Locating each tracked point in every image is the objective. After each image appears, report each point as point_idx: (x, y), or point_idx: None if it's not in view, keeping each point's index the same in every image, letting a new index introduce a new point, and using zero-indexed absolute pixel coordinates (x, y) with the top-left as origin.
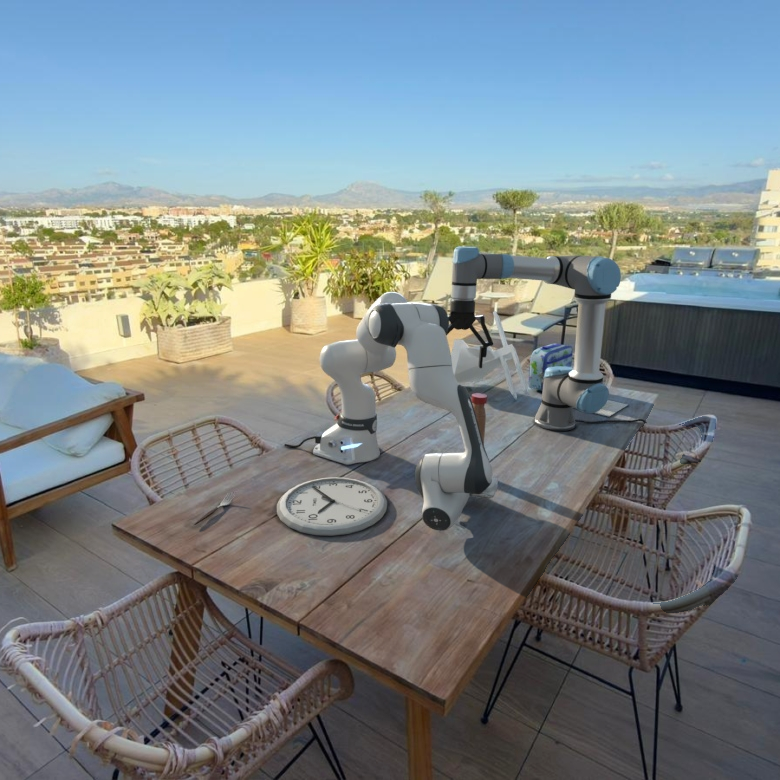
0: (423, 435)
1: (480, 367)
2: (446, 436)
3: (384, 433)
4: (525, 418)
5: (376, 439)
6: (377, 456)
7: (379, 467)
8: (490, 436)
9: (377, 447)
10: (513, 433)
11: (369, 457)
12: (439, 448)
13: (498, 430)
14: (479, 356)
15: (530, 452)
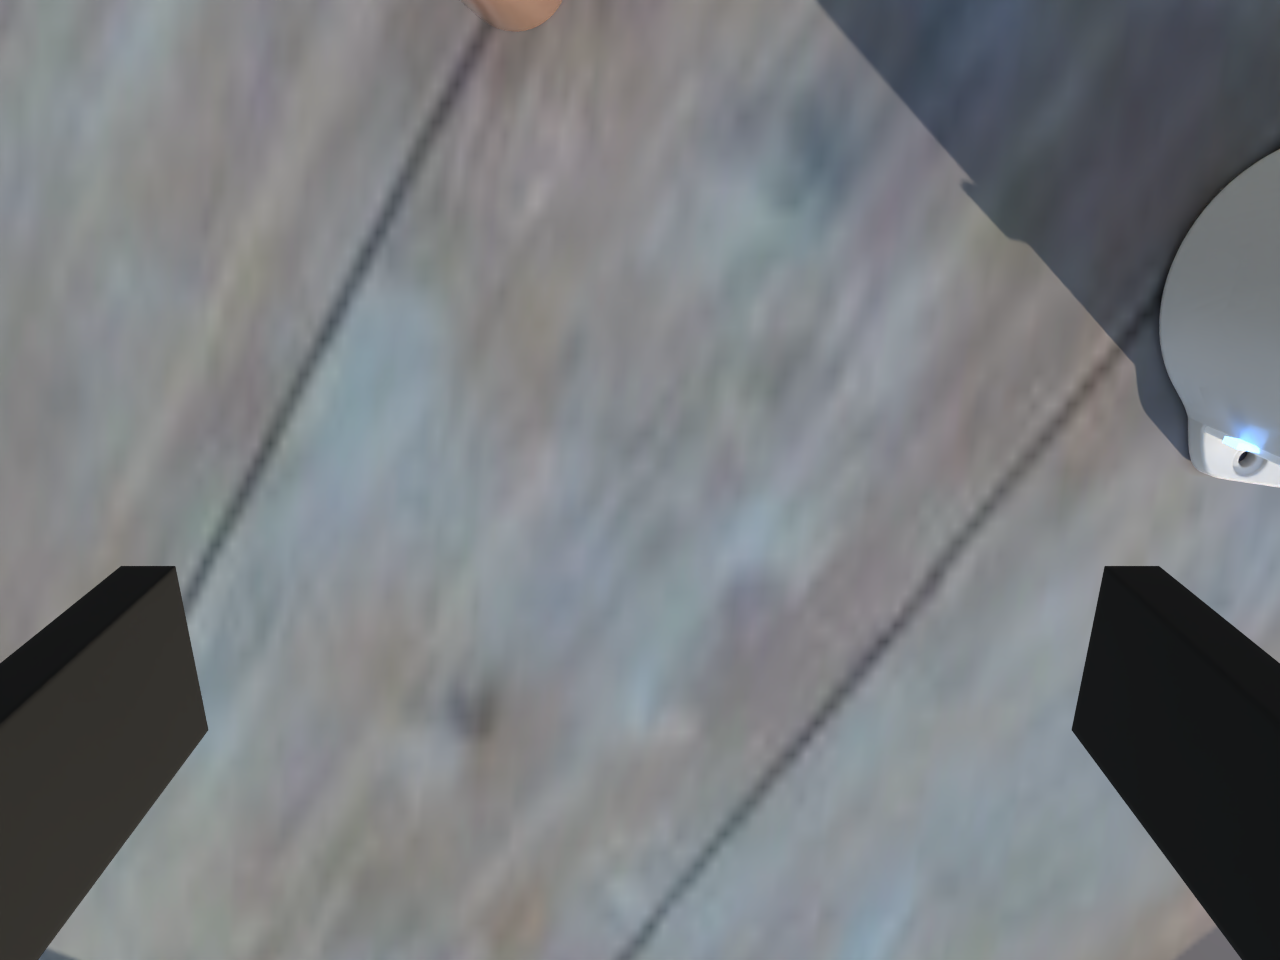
0: (813, 630)
1: (148, 573)
2: (657, 625)
3: (1075, 643)
4: (116, 932)
5: (1268, 297)
6: (1194, 230)
7: (1196, 64)
8: (357, 645)
9: (1221, 278)
10: None
11: (1274, 169)
12: (723, 427)
13: (299, 742)
14: (67, 862)
15: (88, 405)
